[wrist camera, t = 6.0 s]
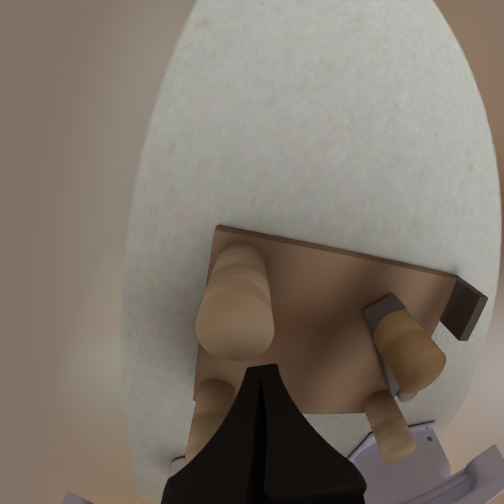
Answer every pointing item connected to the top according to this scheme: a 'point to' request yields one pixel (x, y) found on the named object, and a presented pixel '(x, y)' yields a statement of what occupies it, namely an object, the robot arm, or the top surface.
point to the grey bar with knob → (402, 348)
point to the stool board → (312, 328)
